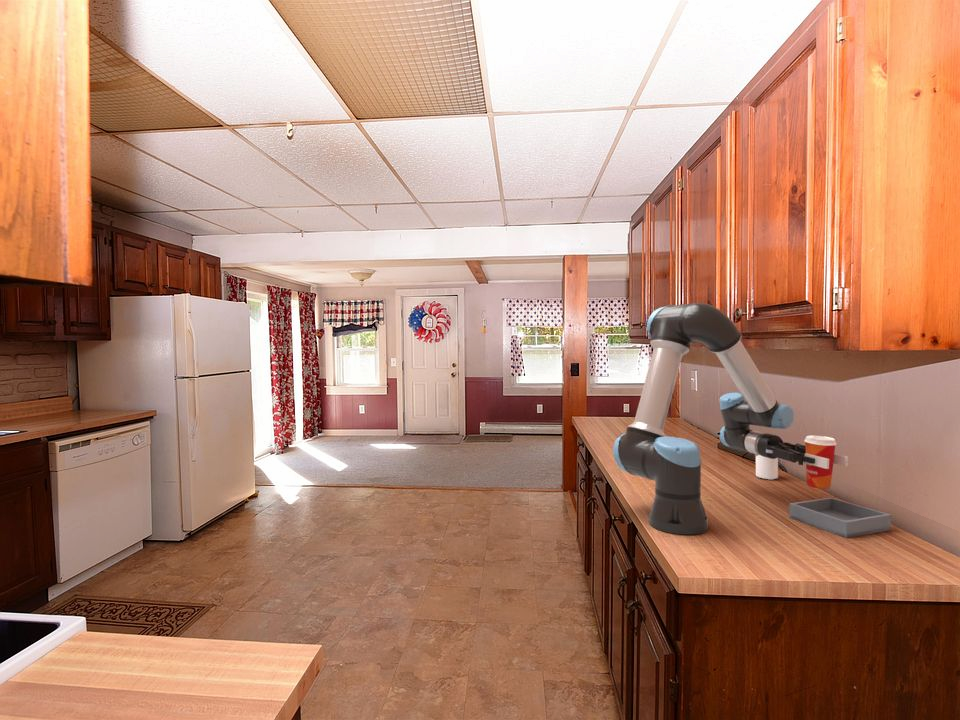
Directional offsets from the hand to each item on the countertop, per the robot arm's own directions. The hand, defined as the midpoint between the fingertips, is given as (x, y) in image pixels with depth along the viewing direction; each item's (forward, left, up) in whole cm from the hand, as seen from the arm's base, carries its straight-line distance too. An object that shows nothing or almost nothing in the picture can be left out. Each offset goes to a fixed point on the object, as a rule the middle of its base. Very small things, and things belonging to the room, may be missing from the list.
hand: (837, 462), depth 135 cm
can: (+19, +41, -16) cm, 48 cm away
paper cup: (0, +5, -8) cm, 10 cm away
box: (-2, -1, -16) cm, 16 cm away
